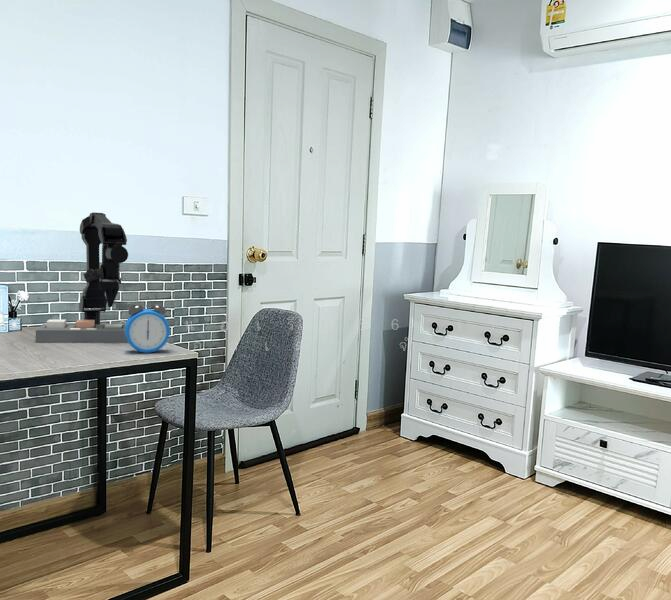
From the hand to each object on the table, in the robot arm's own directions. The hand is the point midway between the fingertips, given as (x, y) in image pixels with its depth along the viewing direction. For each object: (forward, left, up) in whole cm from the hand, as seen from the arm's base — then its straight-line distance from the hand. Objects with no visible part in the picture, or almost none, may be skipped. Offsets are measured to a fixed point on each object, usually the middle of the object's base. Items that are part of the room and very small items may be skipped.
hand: (110, 306), depth 211 cm
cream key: (0, -17, -8) cm, 19 cm away
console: (+2, -8, -11) cm, 14 cm away
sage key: (0, +1, -10) cm, 10 cm away
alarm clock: (+24, +13, -11) cm, 29 cm away
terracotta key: (0, -8, -8) cm, 12 cm away
